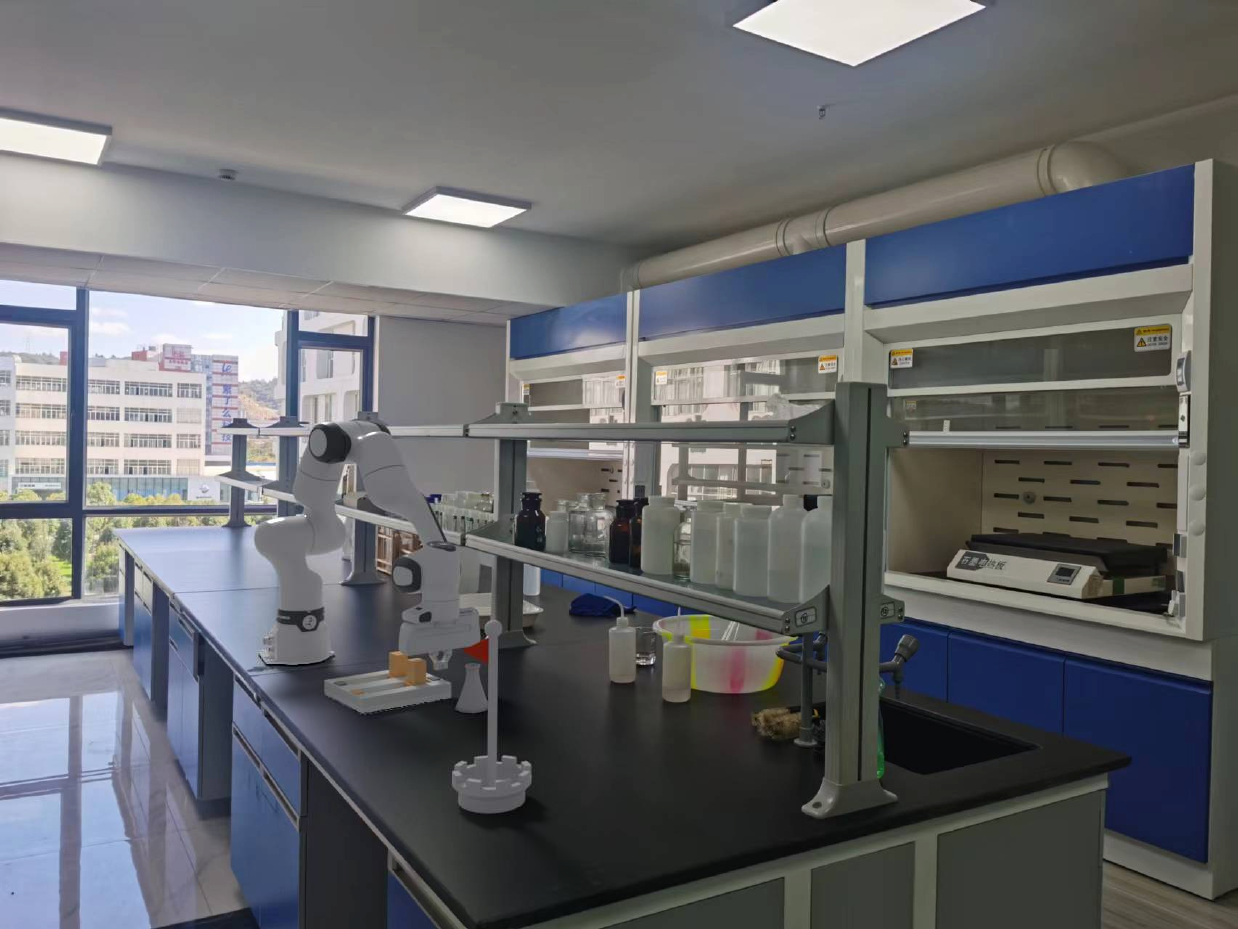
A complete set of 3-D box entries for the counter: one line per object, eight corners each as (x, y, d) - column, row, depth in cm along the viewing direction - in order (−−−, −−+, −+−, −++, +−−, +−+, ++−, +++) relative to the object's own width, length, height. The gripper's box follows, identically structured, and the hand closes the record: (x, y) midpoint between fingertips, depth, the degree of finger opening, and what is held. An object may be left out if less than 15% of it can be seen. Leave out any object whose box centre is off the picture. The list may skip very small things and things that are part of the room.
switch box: (324, 695, 215) (324, 678, 215) (410, 680, 229) (410, 665, 229) (361, 714, 200) (361, 697, 200) (451, 697, 214) (451, 681, 214)
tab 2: (404, 688, 215) (404, 659, 215) (420, 685, 217) (420, 657, 217) (412, 692, 212) (412, 663, 212) (428, 689, 214) (428, 660, 214)
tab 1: (387, 680, 222) (387, 652, 221) (402, 678, 224) (402, 650, 224) (394, 684, 219) (394, 655, 218) (409, 681, 221) (410, 653, 221)
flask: (470, 703, 210) (470, 659, 210) (495, 708, 207) (495, 663, 206) (449, 711, 204) (449, 666, 204) (475, 716, 200) (475, 670, 200)
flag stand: (533, 785, 160) (535, 613, 159) (528, 816, 147) (530, 628, 146) (457, 785, 160) (459, 612, 159) (446, 816, 147) (447, 627, 146)
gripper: (472, 604, 227) (471, 660, 228) (395, 613, 214) (395, 672, 214) (485, 608, 223) (485, 665, 223) (408, 617, 209) (408, 678, 210)
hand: (440, 669), depth 219 cm, fingers closed
